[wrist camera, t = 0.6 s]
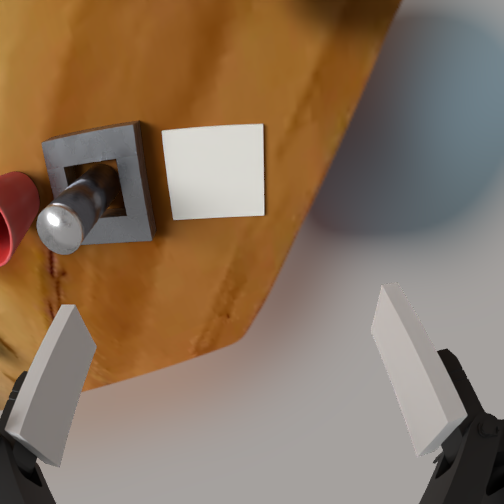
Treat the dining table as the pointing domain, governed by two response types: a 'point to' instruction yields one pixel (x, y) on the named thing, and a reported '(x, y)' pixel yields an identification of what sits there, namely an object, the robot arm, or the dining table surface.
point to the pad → (215, 171)
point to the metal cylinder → (78, 209)
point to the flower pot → (15, 211)
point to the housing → (130, 173)
